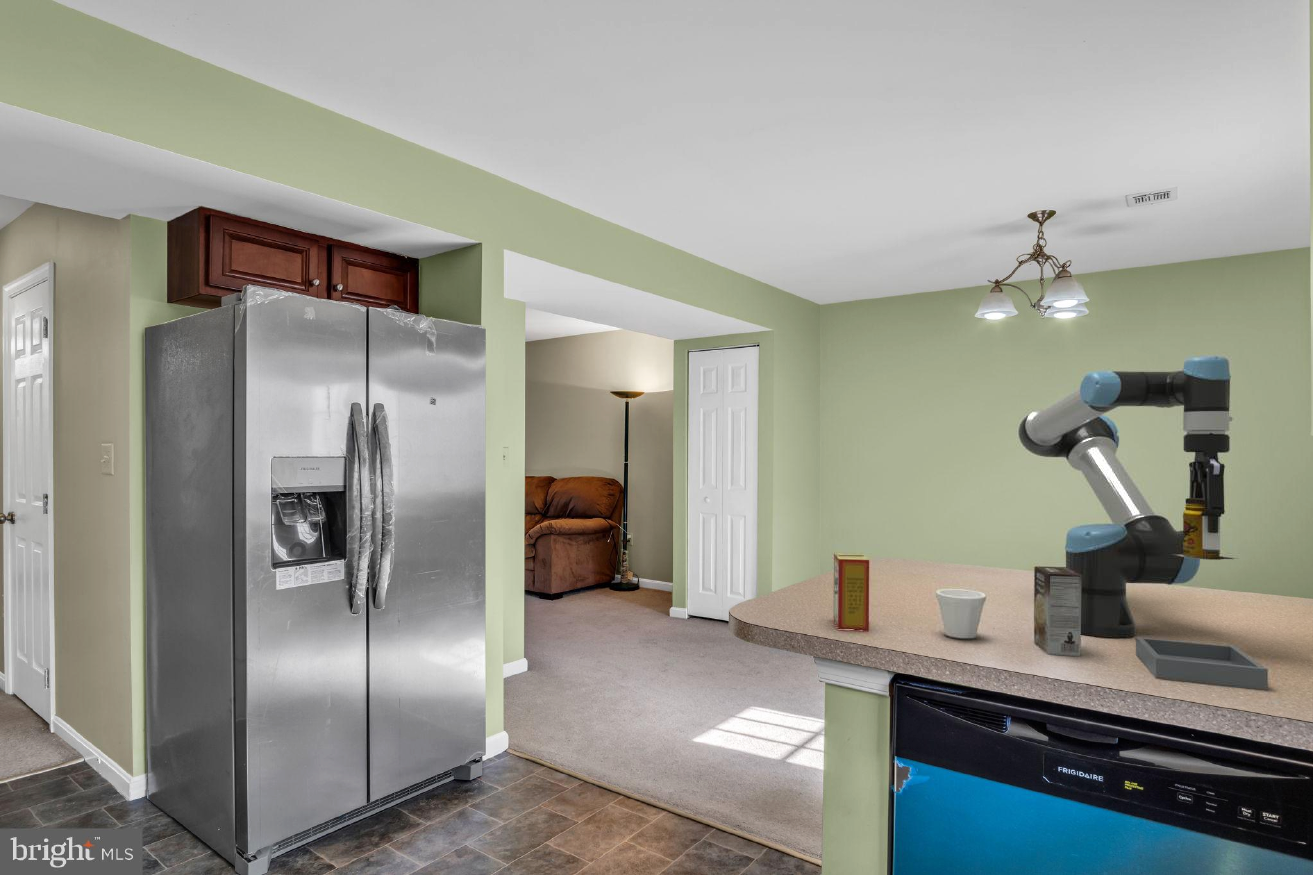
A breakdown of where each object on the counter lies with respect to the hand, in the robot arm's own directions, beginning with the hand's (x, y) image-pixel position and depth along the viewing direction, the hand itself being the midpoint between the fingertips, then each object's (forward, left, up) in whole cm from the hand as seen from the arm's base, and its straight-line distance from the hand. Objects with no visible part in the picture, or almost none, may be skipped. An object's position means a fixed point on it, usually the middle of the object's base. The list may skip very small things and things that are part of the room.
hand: (1205, 546), depth 150 cm
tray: (-6, -18, -21) cm, 28 cm away
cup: (-46, -9, -21) cm, 51 cm away
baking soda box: (-69, -9, -21) cm, 73 cm away
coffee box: (-28, -12, -21) cm, 37 cm away
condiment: (0, 0, -2) cm, 2 cm away
